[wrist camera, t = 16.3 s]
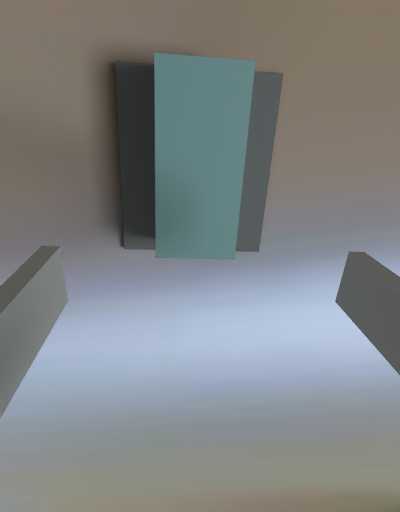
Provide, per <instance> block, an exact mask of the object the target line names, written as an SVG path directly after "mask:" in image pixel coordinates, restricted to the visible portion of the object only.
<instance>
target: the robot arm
mask: <svg viewBox="0 0 400 512" xmlns="http://www.w3.org/2000/svg"><path fill="white" fill-rule="evenodd" d="M67 302H68V297H67V290H66V283H65V276H64V270H63V263H62V256H61V249H60V247H59V246H41V247H40V248H39V249H38V250H37V251H36V252H35V253H34V254H33V255H32V256H31V257H30V258H29V259H28V260H27V261H26V262H25V263H24V264H23V265H22V266H21V267H20V268H19V269H18V270H17V271H16V272H15V273H13V274H12V275H11V276H10V277H9V278H8V279H7V280H6V281H5V282H4V283H3V284H2V285H1V286H0V418H1V416H2V414H3V413H4V411H5V409H6V407H7V406H8V404H9V402H10V401H11V399H12V397H13V395H14V394H15V392H16V390H17V388H18V387H19V385H20V383H21V381H22V380H23V378H24V376H25V375H26V373H27V371H28V369H29V368H30V366H31V364H32V362H33V361H34V359H35V357H36V356H37V354H38V352H39V350H40V349H41V347H42V345H43V343H44V342H45V340H46V338H47V336H48V335H49V333H50V331H51V330H52V328H53V326H54V324H55V323H56V321H57V319H58V317H59V316H60V314H61V312H62V311H63V309H64V307H65V305H66V304H67ZM335 302H336V303H337V304H338V305H339V306H340V307H341V309H342V310H343V311H344V312H345V313H346V314H347V315H348V317H349V318H350V319H351V320H352V321H353V322H354V323H355V325H356V326H357V327H358V328H359V329H360V330H361V331H362V333H363V334H364V335H365V336H366V337H367V338H368V339H369V341H370V342H371V343H372V344H373V345H374V346H375V347H376V348H377V350H378V351H379V352H380V353H381V354H382V355H383V356H384V358H385V359H386V360H387V361H388V362H389V363H390V364H391V366H392V367H393V368H394V369H395V370H396V371H397V372H398V374H399V375H400V277H399V276H397V275H396V274H395V273H393V272H392V271H390V270H389V269H388V268H386V267H385V266H383V265H382V264H381V263H379V262H378V261H376V260H375V259H373V258H372V257H371V256H369V255H368V254H366V253H365V252H349V254H348V257H347V261H346V264H345V268H344V272H343V275H342V279H341V282H340V286H339V290H338V293H337V297H336V301H335Z"/></svg>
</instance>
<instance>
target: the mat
mask: <svg viewBox="0 0 400 512" xmlns="http://www.w3.org/2000/svg"><path fill="white" fill-rule="evenodd" d="M115 76H116V96H117V116H118V136H119V155H120V175H121V195H122V215H123V235H124V249H150V250H156V225H155V76H154V64H142V63H128V62H115ZM282 79H283V74H279V73H265V72H254V80H253V90H252V99H251V109H250V118H249V128H248V137H247V147H246V156H245V166H244V175H243V185H242V194H241V204H240V213H239V223H238V232H237V242H236V251H254V252H259V246H260V238H261V231H262V224H263V217H264V209H265V202H266V195H267V188H268V180H269V173H270V166H271V159H272V151H273V144H274V137H275V130H276V122H277V115H278V108H279V101H280V93H281V86H282Z"/></svg>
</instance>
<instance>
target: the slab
mask: <svg viewBox="0 0 400 512" xmlns="http://www.w3.org/2000/svg"><path fill="white" fill-rule="evenodd" d="M255 61H256V60H243V59H230V58H216V57H203V56H190V55H177V54H164V53H154V76H155V225H156V258H200V259H235V251H236V242H237V232H238V223H239V213H240V204H241V194H242V185H243V175H244V166H245V156H246V147H247V137H248V128H249V118H250V109H251V99H252V90H253V80H254V71H255Z"/></svg>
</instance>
